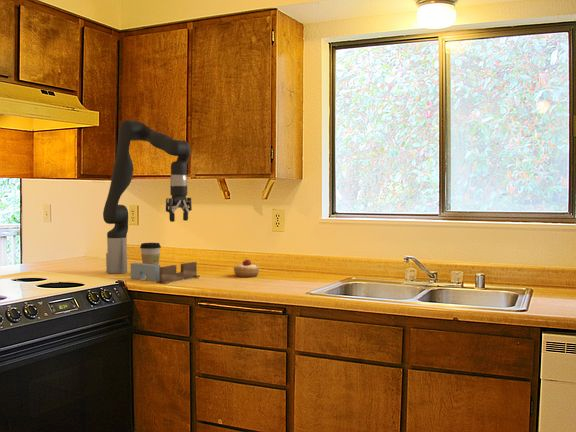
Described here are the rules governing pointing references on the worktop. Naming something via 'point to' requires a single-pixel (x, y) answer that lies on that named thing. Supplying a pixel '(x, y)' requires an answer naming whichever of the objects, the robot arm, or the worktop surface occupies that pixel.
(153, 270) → the cross bar
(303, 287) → the worktop surface
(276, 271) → the worktop surface
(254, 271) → the pastry
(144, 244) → the coffee cup
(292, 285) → the worktop surface
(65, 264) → the worktop surface
